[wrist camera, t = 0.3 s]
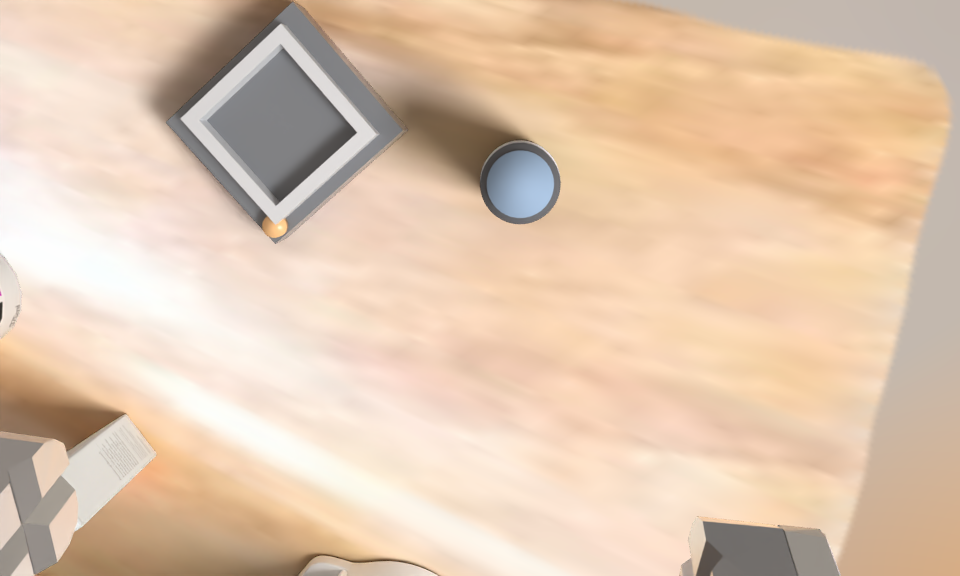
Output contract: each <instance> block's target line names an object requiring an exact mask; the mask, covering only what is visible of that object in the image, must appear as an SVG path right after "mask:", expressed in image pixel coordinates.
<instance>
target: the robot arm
mask: <svg viewBox="0 0 960 576" xmlns="http://www.w3.org/2000/svg"><path fill="white" fill-rule="evenodd" d="M69 464H70V463H69V459H68V456H67V452H66V448H65V445H64V443H62V442H60V441H58V440H56V439H51V438H45V437H38V436H31V435H24V434H17V433H10V432H3V431H0V576H36V574H38V573H40V572H41V571H43V570H45V569H47V568H48V567H50V566H52V565H54V564H55V563H57V562H58V561H59V559H60V558H61V556H62V555H63V553H64V552H65V550H66V549H67V547H68V546H69V544H70V542H71V539H72V536H73V533H74V530H75V527H76V524H77V519H78V501H77V496H76V491H75V489H74V488H73V487H72V486H71V485H70V484H69V483H68V482H67V481H66V480H65V479H64V478H63V477H62V476H61V475H62V473H63V472H64V470H65V469H66V468H67V466H68V465H69ZM688 541H689V547H690V553H691V558H690V559H689V560H688V561H686V562H685V563H684V564H682V565H681V569H680V574H679V576H841V575H840V572H839V569H838V567H837V564H836V561H835V559H834V556H833V553H832V551H831V548H830V545H829V543H828V540H827V537H826V535H825V534H824V533H823V532H822V531H821V530H820V529H813V528H803V527H794V526H784V525H778V526H775V525H770V524H761V523H753V522H744V521H735V520H726V519H717V518H708V517H699V516H697V517H696V519H695V521H694V522H693V524H692V527H691V531H690V535H689V538H688ZM298 576H438V575H436V574H434V573H432V572H430V571H428V570H426V569H424V568H421V567H418V566H415V565H411V564H407V563H402V562H394V561H378V562H367V563H352V562H349V561H346V560H343V559H339V558H335V557H331V556H317V557H315V558H313V559H312V560H311V561H310V562H309V563H308V564H307V565H306V567H305V568H304V569H303V570H302V571H301V573H300V574H299V575H298Z"/></svg>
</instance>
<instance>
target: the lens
mask: <svg viewBox="0 0 960 576" xmlns="http://www.w3.org/2000/svg"><path fill="white" fill-rule="evenodd" d="M480 188H481V194H482V197H483V200H484V202H485V204H486V206H487V207H488V208H489V210H490V211H491V212H492V213H493V214H494V215H495V216H497V217H498V218H500V219H502V220H504V221H506V222H509V223H513V224H527V223H531V222H534V221H537V220H539V219H540V218H542V217H544V216H545V215H546V214H547V213H548V212H549V211H550V210H551V209H552V208H553V206H554V205H555V203H556V201H557V199H558V196H559V192H560V174H559V170H558V167H557V164H556V162H555V160H554V159H553V157H552V156H551V155H550V154H549V153H548V152H547V151H546V150H545V149H544V148H543V147H541V146H539V145H537V144H535V143H533V142H530V141H527V140H513V141H509V142H506V143H504V144H503V145H501V146H500V147H498V148H497V149H495V150H494V151H493V152H492V153H491V154H490V155H489V157H488V158H487V160H486V161H485V163H484V165H483V168H482V171H481V176H480Z"/></svg>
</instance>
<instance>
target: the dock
mask: <svg viewBox="0 0 960 576" xmlns="http://www.w3.org/2000/svg"><path fill="white" fill-rule="evenodd" d="M166 123H167V124H168V125H169V126H170V128H171V129H172V130H173V131H174V132H175V133H176V134H177V135H178V136H179V137H180V139H181V140H182V141H183V142H184V143H185V144H186V145H187V146H188V147H189V149H190V150H191V151H192V152H193V153H194V154H195V155H196V156H197V157H198V159H199V160H200V161H201V162H202V163H203V164H204V165H205V166H206V167H207V169H208V170H209V171H210V172H211V173H212V174H213V175H214V176H215V177H216V179H217V180H218V181H219V182H220V183H221V184H222V185H223V186H224V187H225V189H226V190H227V191H228V192H229V193H230V194H231V195H232V196H233V197H234V199H235V200H236V201H237V202H238V203H239V204H240V205H241V206H242V207H243V209H244V210H245V211H246V212H247V213H248V214H249V215H250V216H251V217H252V218H253V220H254V221H255V222H256V223H257V224H258V225H259V226H260V227H261V228H262V230H263V231H264V233H265V234H266V235H267V236H269V237H270V238H271V240H272V241H273V242H274V243H275V244H276V243H278V242H280V241H282V240H284V239H286V238H287V237H289V236H290V235H291V234H292V233H293V232H294V231H295V230H296V229H298V228H299V227H300V226H301V225H302V224H303V223H304V222H305V221H307V220H308V219H309V218H310V217H311V216H312V215H313V214H314V213H316V212H317V211H318V210H319V209H320V208H321V207H322V206H323V205H325V204H326V203H327V202H328V201H329V200H330V199H331V198H332V197H334V196H335V195H336V194H337V193H338V192H339V191H340V190H341V189H343V188H344V187H345V186H346V185H347V184H348V183H349V182H350V181H352V180H353V179H354V178H355V177H356V176H357V175H358V174H359V173H360V172H362V171H363V170H364V169H365V168H366V167H367V166H368V165H369V164H371V163H372V162H373V161H374V160H375V159H376V158H377V157H378V156H380V155H381V154H382V153H383V152H384V151H385V150H386V149H387V148H389V147H390V146H391V145H392V144H393V143H394V142H395V141H396V140H398V139H399V138H400V137H401V136H402V135H403V134H404V133H405V132H407V131H408V129H407V128H406V126H405V125H404V124H403V123H402V122H401V121H400V119H399V118H398V117H397V116H396V115H395V114H394V112H393V111H392V110H391V109H390V108H389V107H388V105H387V104H386V103H385V102H384V101H383V100H382V98H381V97H380V96H379V95H378V94H377V93H376V91H375V90H374V89H373V88H372V87H371V86H370V84H369V83H368V82H367V81H366V80H365V79H364V77H363V76H362V75H361V74H360V73H359V72H358V70H357V69H356V68H355V67H354V66H353V64H352V63H351V62H350V61H349V60H348V59H347V57H346V56H345V55H344V54H343V53H342V52H341V50H340V49H339V48H338V47H337V46H336V45H335V43H334V42H333V41H332V40H331V39H330V38H329V36H328V35H327V34H326V33H325V32H324V31H323V29H322V28H321V27H320V26H319V25H318V24H317V22H316V21H315V20H314V19H313V18H312V17H311V15H310V14H309V13H308V12H307V11H306V10H305V8H303V7H302V6H300V5H298V4H296V3H294V2H292V3H291V4H290V5H289V6H288V7H287V8H286V9H284V10H283V11H282V12H281V13H280V14H279V15H278V16H277V17H276V18H275V19H274V20H273V21H272V22H271V23H270V24H269V25H268V26H267V27H266V28H264V29H263V30H262V31H261V32H260V33H259V34H258V35H257V36H256V37H255V38H254V39H253V40H252V41H251V42H250V43H249V44H248V45H247V46H246V47H244V48H243V49H242V50H241V51H240V52H239V53H238V54H237V55H236V56H235V57H234V58H233V59H232V60H231V61H230V62H229V63H228V64H227V65H226V66H224V67H223V68H222V69H221V70H220V71H219V72H218V73H217V74H216V75H215V76H214V77H213V78H212V79H211V80H210V81H209V82H208V83H207V84H206V85H205V86H203V87H202V88H201V89H200V90H199V91H198V92H197V93H196V94H195V95H194V96H193V97H192V98H191V99H190V100H189V101H188V102H187V103H186V104H185V105H183V106H182V107H181V108H180V109H179V110H178V111H177V112H176V113H175V114H174V115H173V116H172V117H171V118H170V119H169V120H168V121H167V122H166Z"/></svg>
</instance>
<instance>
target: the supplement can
mask: <svg viewBox="0 0 960 576" xmlns="http://www.w3.org/2000/svg"><path fill="white" fill-rule="evenodd" d="M21 305H22V291H21V287H20V284H19V281H18V278H17V275H16V273H15V271H14V270H13V268H12V267H11V266H10V264H9V263H8V262H7V260H6V259H5V257H3V256H2V255H1V254H0V339H2V338H3V337H4V336H5V335H6V334H7V333H8V332H9V331H10V330H11V329H12V328H13V327H14V326H15V324H16V322H17V319H18V317H19V315H20V312H21Z"/></svg>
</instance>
